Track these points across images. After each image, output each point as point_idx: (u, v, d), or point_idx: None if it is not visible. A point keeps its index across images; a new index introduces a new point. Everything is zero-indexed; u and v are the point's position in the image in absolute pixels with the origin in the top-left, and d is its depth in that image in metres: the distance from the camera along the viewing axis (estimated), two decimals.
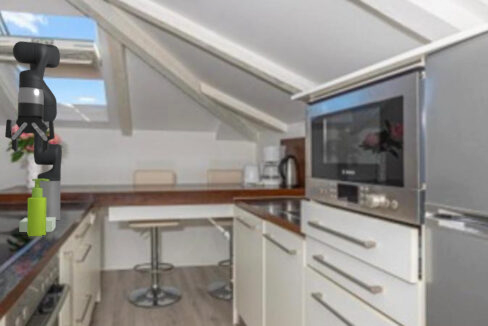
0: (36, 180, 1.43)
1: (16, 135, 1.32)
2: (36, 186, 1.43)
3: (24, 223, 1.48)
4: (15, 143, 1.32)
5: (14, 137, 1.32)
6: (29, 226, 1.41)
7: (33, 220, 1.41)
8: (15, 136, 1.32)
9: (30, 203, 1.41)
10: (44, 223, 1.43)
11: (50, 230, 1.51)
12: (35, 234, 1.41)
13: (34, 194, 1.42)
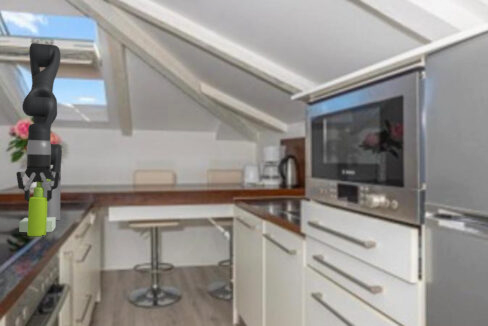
0: None
1: (28, 186, 1.42)
2: (38, 186, 1.43)
3: (24, 223, 1.48)
4: (27, 193, 1.42)
5: (27, 188, 1.41)
6: (29, 226, 1.41)
7: (34, 219, 1.41)
8: (27, 187, 1.42)
9: (31, 203, 1.41)
10: (44, 223, 1.44)
11: (50, 230, 1.51)
12: (35, 234, 1.41)
13: (36, 194, 1.42)
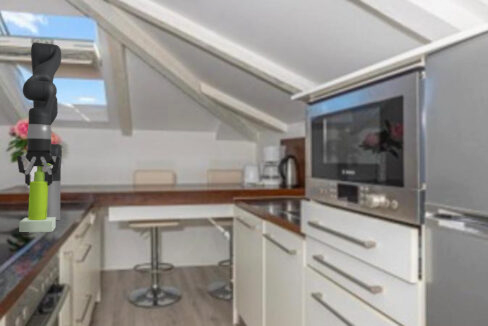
0: None
1: (28, 170, 1.42)
2: (38, 170, 1.43)
3: (24, 223, 1.48)
4: (28, 178, 1.42)
5: (27, 172, 1.42)
6: (30, 210, 1.41)
7: (35, 203, 1.41)
8: (28, 171, 1.42)
9: (32, 187, 1.41)
10: (45, 207, 1.44)
11: (50, 230, 1.51)
12: (36, 218, 1.41)
13: (36, 178, 1.42)
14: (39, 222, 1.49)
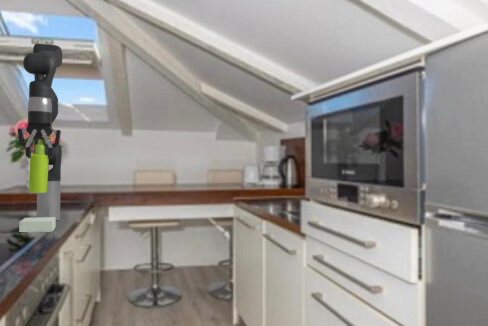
0: None
1: (29, 142, 1.42)
2: (39, 143, 1.44)
3: (24, 223, 1.48)
4: (29, 150, 1.42)
5: (28, 145, 1.42)
6: (31, 182, 1.42)
7: (35, 176, 1.42)
8: (29, 144, 1.42)
9: (32, 159, 1.42)
10: (46, 180, 1.44)
11: (50, 230, 1.51)
12: (36, 190, 1.42)
13: (37, 151, 1.43)
14: (39, 222, 1.49)
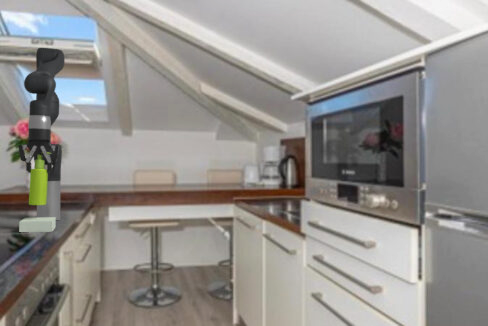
0: None
1: (29, 158, 1.52)
2: (39, 158, 1.53)
3: (24, 223, 1.48)
4: (29, 165, 1.52)
5: (28, 160, 1.51)
6: (31, 195, 1.51)
7: (35, 189, 1.51)
8: (29, 159, 1.52)
9: (32, 174, 1.51)
10: (45, 193, 1.53)
11: (50, 230, 1.51)
12: (36, 203, 1.51)
13: (36, 165, 1.52)
14: (39, 222, 1.49)
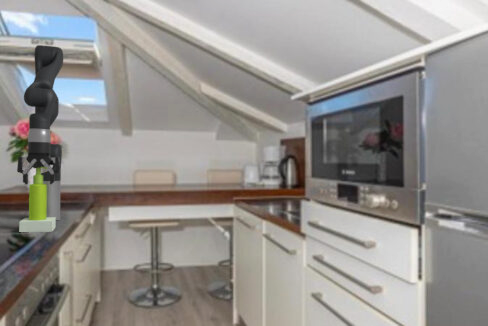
0: (37, 168, 1.53)
1: (26, 170, 1.51)
2: (37, 173, 1.53)
3: (24, 223, 1.48)
4: (26, 177, 1.51)
5: (25, 172, 1.51)
6: (30, 210, 1.51)
7: (34, 204, 1.51)
8: (26, 171, 1.51)
9: (31, 189, 1.51)
10: (44, 208, 1.54)
11: (50, 230, 1.51)
12: (36, 218, 1.51)
13: (35, 181, 1.52)
14: (39, 222, 1.49)
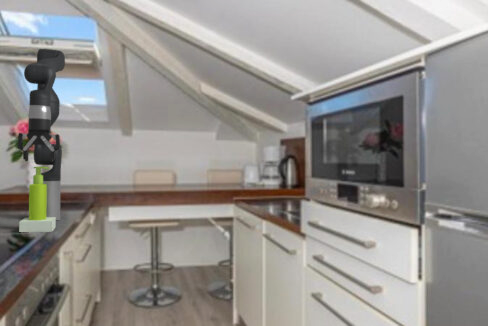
0: (37, 168, 1.53)
1: (27, 147, 1.51)
2: (37, 173, 1.53)
3: (24, 223, 1.48)
4: (26, 154, 1.51)
5: (25, 148, 1.51)
6: (30, 210, 1.51)
7: (34, 204, 1.51)
8: (26, 147, 1.51)
9: (31, 189, 1.51)
10: (44, 208, 1.54)
11: (50, 230, 1.51)
12: (36, 218, 1.51)
13: (35, 181, 1.52)
14: (39, 222, 1.49)
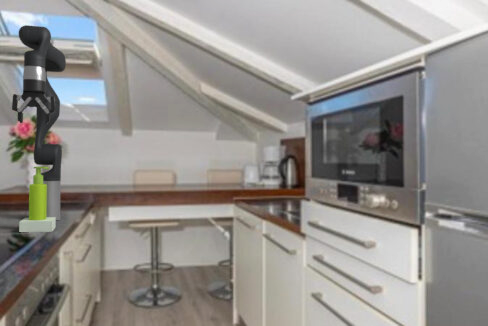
0: (37, 168, 1.53)
1: (21, 108, 1.50)
2: (37, 173, 1.53)
3: (24, 223, 1.48)
4: (20, 115, 1.50)
5: (20, 110, 1.49)
6: (30, 210, 1.51)
7: (34, 204, 1.51)
8: (20, 109, 1.49)
9: (31, 189, 1.51)
10: (44, 208, 1.54)
11: (50, 230, 1.51)
12: (36, 218, 1.51)
13: (35, 181, 1.52)
14: (39, 222, 1.49)
